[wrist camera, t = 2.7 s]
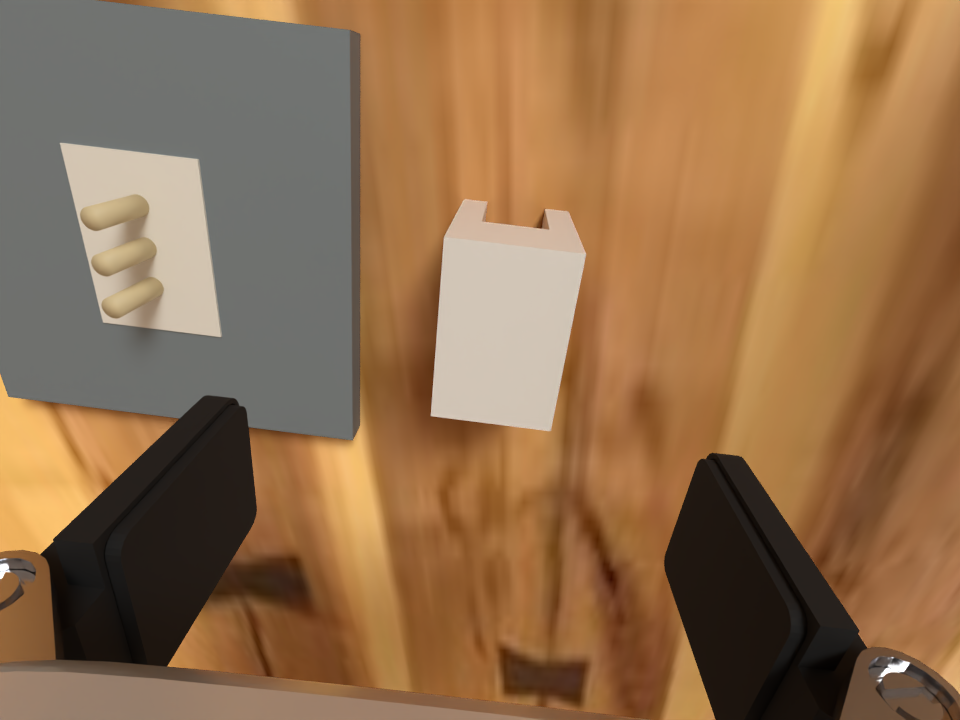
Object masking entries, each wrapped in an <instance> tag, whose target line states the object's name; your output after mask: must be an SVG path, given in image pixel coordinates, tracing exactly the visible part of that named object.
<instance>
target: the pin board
mask: <svg viewBox="0 0 960 720" xmlns="http://www.w3.org/2000/svg"><path fill="white" fill-rule="evenodd" d="M0 374H1V377H2V380H3V383H4V385H5V388H6V391H7V394H8V397H14V398H22V399H30V400H38V401H46V402H54V403H62V404H70V405H78V406H86V407H93V408H101V409H109V410H117V411H125V412H133V413H141V414H149V415H157V416H165V417H172V418H181V417H182V416H183V415H184V414H185V413H186V412H187V411H188V410H189V409H190V408H191V407H192V406H193V405H195V404H196V403H197V402H198V401H199V400H200V399H201V398H202V397H203V396H205V395H211V396H220V397H229V398H235V399H236V400H237V401H238V403H239V406H244V407H245V408H246V411H247V418H248V427H251V428H259V429H267V430H275V431H283V432H291V433H299V434H307V435H315V436H322V437H330V438H338V439H346V440H353V439H354V437H355V435H356V432H357V430H358V428H359V426H360V34H359V33H356V32H354V31H351V30H345V29H336V28H328V27H319V26H311V25H302V24H293V23H285V22H276V21H268V20H259V19H251V18H242V17H233V16H225V15H216V14H208V13H199V12H190V11H182V10H173V9H165V8H156V7H147V6H139V5H130V4H122V3H113V2H105V1H96V0H0Z"/></svg>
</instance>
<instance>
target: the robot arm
mask: <svg viewBox="0 0 960 720" xmlns="http://www.w3.org/2000/svg"><path fill="white" fill-rule="evenodd" d="M256 511H257V506H256V496H255V486H254V477H253V467H252V457H251V447H250V437H249V428H248V418H247V411H246V408H245V407H244V406H239V403H238V401H237V400H236V399H235V398H229V397H220V396H211V395H205V396H203V397H202V398H201V399H200V400H199V401H198V402H197V403H196V404H195V405H193V406H192V407H191V408H190V409H189V410H188V411H187V412H186V413H185V414H184V415H183V416H182V417H181V418H180V419H179V420H178V421H177V422H176V423H175V424H174V425H172V426H171V427H170V428H169V429H168V430H167V431H166V432H165V433H164V434H163V435H162V436H161V437H160V438H159V439H158V440H157V441H156V442H155V443H154V444H153V445H152V446H150V447H149V448H148V449H147V450H146V451H145V452H144V453H143V454H142V455H141V456H140V457H139V458H138V459H137V460H136V461H135V462H134V463H133V464H132V465H131V466H129V467H128V468H127V469H126V470H125V471H124V472H123V473H122V474H121V475H120V476H119V477H118V478H117V479H116V480H115V481H114V482H113V483H112V484H111V485H110V486H109V487H107V488H106V489H105V490H104V491H103V492H102V493H101V494H100V495H99V496H98V497H97V498H96V499H95V500H94V501H93V502H92V503H91V504H90V505H89V506H88V507H87V508H85V509H84V510H83V511H82V512H81V513H80V514H79V515H78V516H77V517H76V518H75V519H74V520H73V521H72V522H71V523H70V524H69V525H68V526H67V527H66V528H64V529H63V530H62V531H61V532H60V533H59V534H58V535H57V536H56V537H55V538H54V539H53V541H54V542H53V543H52V544H51V545H50V546H49V547H48V548H47V549H45V550H44V551H43V552H42V553H41V554H40V555H39V554H38V553H36V552H30V551H25V550H17V551H4V552H0V720H649V719H640V718H632V717H623V716H615V715H606V714H598V713H589V712H581V711H573V710H564V709H556V708H547V707H539V706H530V705H521V704H512V703H503V702H494V701H486V700H477V699H468V698H459V697H450V696H441V695H432V694H423V693H414V692H405V691H396V690H387V689H378V688H369V687H360V686H351V685H342V684H332V683H323V682H313V681H304V680H294V679H285V678H276V677H266V676H257V675H247V674H238V673H229V672H219V671H210V670H199V669H187V668H176V667H167V665H168V664H169V662H170V661H171V659H172V657H173V656H174V654H175V652H176V651H177V649H178V647H179V646H180V644H181V642H182V641H183V639H184V637H185V636H186V634H187V633H188V631H189V629H190V628H191V626H192V624H193V623H194V621H195V619H196V618H197V616H198V614H199V613H200V611H201V609H202V608H203V606H204V605H205V603H206V601H207V600H208V598H209V596H210V595H211V593H212V591H213V590H214V588H215V586H216V585H217V583H218V581H219V580H220V578H221V577H222V575H223V573H224V572H225V570H226V568H227V567H228V565H229V563H230V562H231V560H232V558H233V557H234V555H235V553H236V552H237V550H238V549H239V547H240V545H241V544H242V542H243V540H244V539H245V537H246V535H247V534H248V532H249V530H250V529H251V527H252V525H253V523H254V520H255V517H256ZM664 566H665V572H666V575H667V578H668V581H669V584H670V587H671V590H672V593H673V596H674V599H675V602H676V605H677V608H678V610H679V613H680V616H681V619H682V622H683V625H684V628H685V631H686V634H687V637H688V640H689V643H690V646H691V649H692V651H693V654H694V657H695V660H696V663H697V666H698V669H699V672H700V675H701V678H702V681H703V684H704V687H705V690H706V692H707V695H708V698H709V701H710V704H711V707H712V710H713V713H714V716H715V719H716V720H960V694H959V693H958V692H957V691H956V689H955V688H954V687H953V686H952V685H951V684H949V683H948V682H947V681H946V680H945V679H944V678H943V677H942V676H940V675H939V674H938V673H937V672H935V671H934V670H932V669H931V668H929V667H928V666H926V665H925V664H923V663H922V662H920V661H919V660H917V659H915V658H913V657H911V656H908V655H906V654H904V653H902V652H899V651H896V650H892V649H889V648H883V647H871V648H867V647H866V645H865V644H864V642H863V641H862V639H861V638H860V636H859V635H858V632H859V629H858V628H857V626H856V625H855V623H854V622H853V620H852V619H851V617H850V616H849V614H848V613H847V611H846V610H845V608H844V607H843V605H842V604H841V602H840V601H839V599H838V598H837V597H836V595H835V594H834V592H833V591H832V589H831V588H830V586H829V585H828V583H827V582H826V580H825V579H824V577H823V576H822V574H821V573H820V571H819V570H818V568H817V567H816V565H815V564H814V562H813V561H812V559H811V558H810V556H809V555H808V553H807V552H806V551H805V549H804V548H803V546H802V545H801V543H800V542H799V540H798V539H797V537H796V536H795V534H794V533H793V531H792V530H791V528H790V527H789V525H788V524H787V522H786V521H785V519H784V518H783V516H782V515H781V513H780V512H779V510H778V509H777V507H776V506H775V505H774V503H773V502H772V500H771V499H770V497H769V496H768V494H767V493H766V491H765V490H764V488H763V487H762V485H761V484H760V482H759V481H758V479H757V478H756V476H755V475H754V473H753V472H752V470H751V469H750V467H749V466H748V464H747V463H746V461H745V460H744V459H743V458H742V457H740V456H735V455H726V454H717V453H711V454H709V455H708V456H707V458H706V459H700V460H699V461H698V463H697V466H696V468H695V471H694V474H693V477H692V480H691V483H690V485H689V488H688V491H687V494H686V497H685V500H684V503H683V505H682V508H681V511H680V514H679V517H678V520H677V522H676V525H675V528H674V531H673V534H672V537H671V540H670V542H669V545H668V548H667V551H666V554H665V560H664Z"/></svg>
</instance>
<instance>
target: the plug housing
mask: <svg viewBox="0 0 960 720" xmlns="http://www.w3.org/2000/svg"><path fill="white" fill-rule="evenodd" d="M486 211H487V202H485V201H477V200H468V199H464V200H463V202H462V204H461V206H460V208H459V210H458V211H457V213H456V215H455V217H454V219H453V221H452V223H451V225H450V226H449V228H448V230H447V232H446V234H445V236H444V243H443V256H442V270H441V284H440V297H439V311H438V324H437V338H436V351H435V365H434V379H433V392H432V406H431V416H434V417H441V418H449V419H457V420H465V421H473V422H481V423H489V424H497V425H505V426H513V427H521V428H529V429H537V430H545V431H551V427H552V422H553V417H554V412H555V407H556V402H557V397H558V392H559V387H560V382H561V377H562V372H563V367H564V362H565V357H566V352H567V347H568V342H569V337H570V332H571V327H572V322H573V317H574V312H575V307H576V302H577V297H578V292H579V287H580V282H581V277H582V272H583V267H584V262H585V257H586V253H585V250H584V248H583V246H582V243H581V241H580V238H579V236H578V233H577V231H576V229H575V226H574V224H573V221H572V219H571V217H570V214H569V212H568V211H560V210H551V209H545V211H544V218H543V224H542V229H539V228H531V227H523V226H515V225H506V224H498V223H490V222H485V221H486Z"/></svg>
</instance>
